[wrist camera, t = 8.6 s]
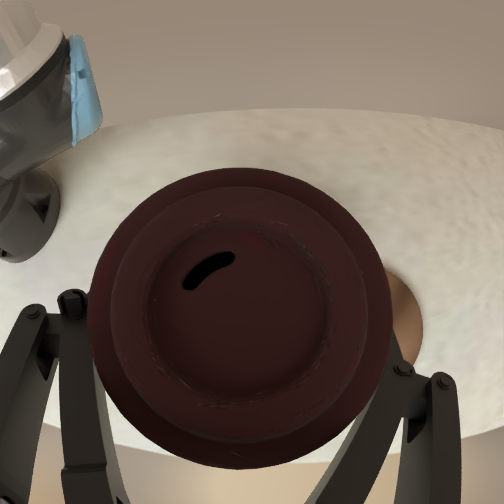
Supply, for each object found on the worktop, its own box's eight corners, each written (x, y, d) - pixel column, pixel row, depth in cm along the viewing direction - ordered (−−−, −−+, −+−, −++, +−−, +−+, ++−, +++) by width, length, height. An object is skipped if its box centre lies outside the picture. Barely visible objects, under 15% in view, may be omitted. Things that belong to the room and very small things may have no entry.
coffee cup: (314, 394, 21) (421, 462, 7) (175, 399, 21) (72, 474, 6) (306, 260, 24) (387, 142, 9) (172, 265, 23) (82, 152, 9)
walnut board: (275, 333, 37) (276, 333, 36) (361, 244, 40) (365, 241, 39) (362, 419, 34) (365, 421, 33) (437, 327, 38) (442, 326, 37)
